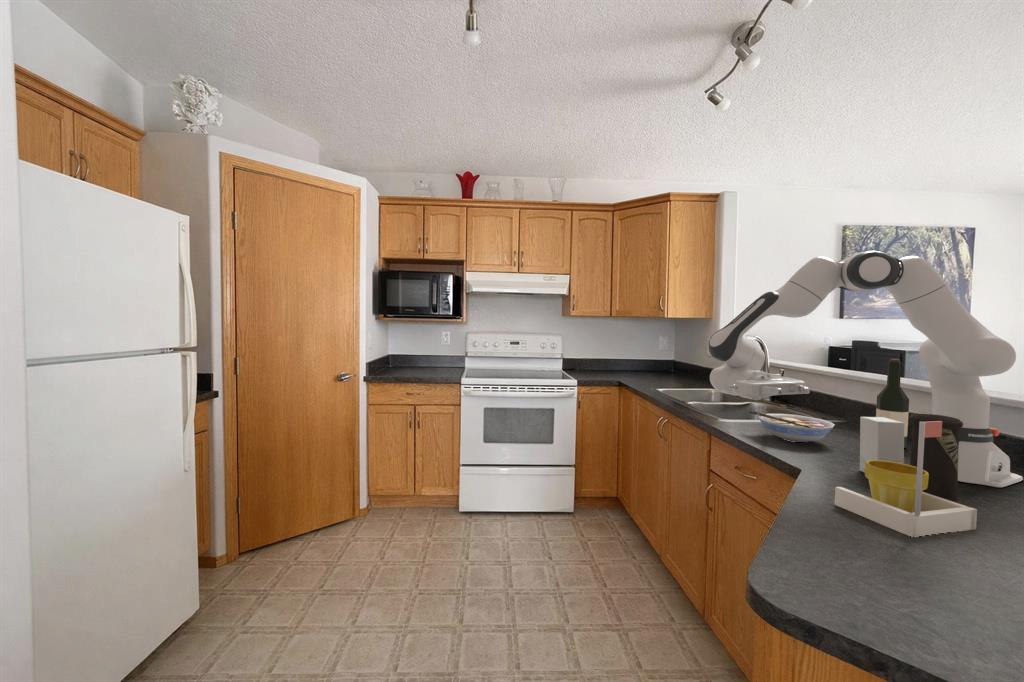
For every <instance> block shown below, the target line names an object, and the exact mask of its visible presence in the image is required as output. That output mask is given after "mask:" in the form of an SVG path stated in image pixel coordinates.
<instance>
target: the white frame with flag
mask: <svg viewBox="0 0 1024 682" xmlns="http://www.w3.org/2000/svg"><path fill="white" fill-rule="evenodd" d="M941 436H942V421H930V422H920V423H919V441H918V459H917V478H916V496H915V513H910V512H907V511H904V510H902V509H899V508H896V507H894V506H891V505H888V504H886V503H883V502H880V501H878V500H875V499H872V497H869V496H866V495H864V494H862V493H858V492H856V491H853V490H851V489H849V488H846V487H842V486H835V487H834V506H836V507H839V508H841V509H845V510H846V511H849V512H851V513H854V514H856V515H858V516H861V517H864V518H865V519H868V520H870V521H873V522H875V523H877V524H879V525H882V526H884V527H886V528H889V529H892V530H893V531H897V532H899V533H902V534H904V535H905V534H906V535H905V536H908V537H910V536H911V538H913V537H914V538H920V537H919V536H922V537H926V536H925V535H929V536H932V535H931V534H936V535H939V534H938V533H944V534H948V533H947V532H951V533H957V531H959V532H965V531H971V530H973V531H974V530H977V517H978V509H976V508H974V507H971V506H967V505H965V504H961V503H958V502H957V503H956V502H953V501H950V500H946V499H943V498H940V497H937V496H934V495H931V494H928V493H925V492H922V494H921V491H922V473H923V455H924V438H927V437H941Z"/></svg>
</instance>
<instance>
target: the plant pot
mask: <svg viewBox="0 0 1024 682" xmlns="http://www.w3.org/2000/svg"><path fill="white" fill-rule="evenodd" d="M864 477H865V478H866V479H868V482H869V488H870V495H871V498H872V499H875V500H878V501H880V502H883V503H886V504H888V505H891V506H894V507H896V508H899V509H902V510H904V511H907V512H910V513H915V496H916V478H917V467H915V466H911V465H910V464H906V463H904V464H903V463H898V462H892V461H884V460H868V461H866V463H865V473H864ZM928 479H929V474H928V472H927V471H925V470H923V473H922V491H921V494H922V492H923V490H925V489H927V487H928Z"/></svg>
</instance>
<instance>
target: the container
mask: <svg viewBox="0 0 1024 682" xmlns="http://www.w3.org/2000/svg"><path fill="white" fill-rule="evenodd" d="M908 421H910V423H911V424H912V425H911V426H912V428H911V444H910V457H909V458H910V460H909V465H911V466H915V467H917V459H918V441H919V423H920V422H930V421H942V436H941V437H927V438H924V455H923V470H925V471H927V472H928V474H929V479H928V487H927V489H925V490H923V492H925V493H928V494H931V495H934V496H937V497H940V498H943V499H946V500H950V501H953V502H956V503H958V488H959V483H958V482H959V481H958V450H959V429H961V427H962V426H963V422H962V421H960V420H959V419H957V418H953V417H948V416H943V415H934V414H931V413H913V414H911V415H910V416H908Z"/></svg>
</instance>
